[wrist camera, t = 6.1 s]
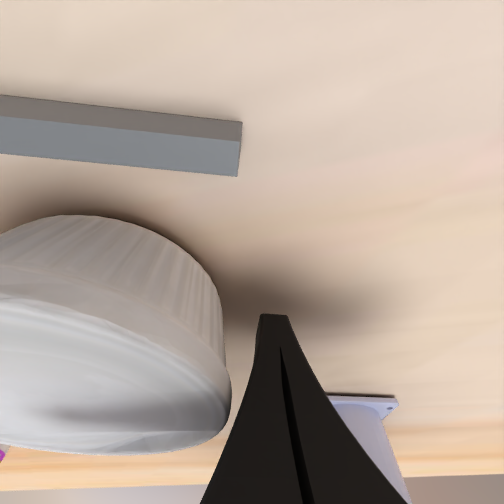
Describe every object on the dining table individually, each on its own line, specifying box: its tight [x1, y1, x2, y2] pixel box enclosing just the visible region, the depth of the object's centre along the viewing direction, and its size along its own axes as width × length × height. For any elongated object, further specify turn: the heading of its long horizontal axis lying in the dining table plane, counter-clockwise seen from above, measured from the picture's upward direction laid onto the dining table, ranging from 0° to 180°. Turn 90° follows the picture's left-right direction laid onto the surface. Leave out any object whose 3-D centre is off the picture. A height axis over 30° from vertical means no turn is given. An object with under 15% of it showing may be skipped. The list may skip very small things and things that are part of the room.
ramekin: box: [0, 215, 232, 455], centre depth 10 cm, size 11×11×5 cm
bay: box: [0, 95, 242, 177], centre depth 11 cm, size 17×15×2 cm
